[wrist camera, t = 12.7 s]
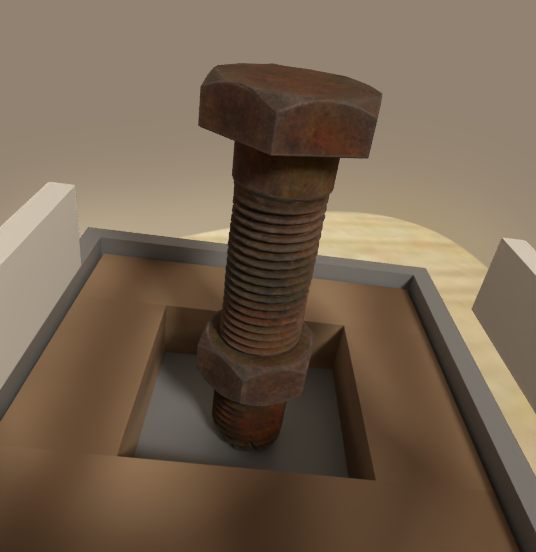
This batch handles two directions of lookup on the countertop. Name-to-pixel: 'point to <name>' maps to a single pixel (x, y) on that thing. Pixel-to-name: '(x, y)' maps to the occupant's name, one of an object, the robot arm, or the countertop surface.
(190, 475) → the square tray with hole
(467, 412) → the open box
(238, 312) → the bolt
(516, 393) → the countertop surface
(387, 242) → the countertop surface
